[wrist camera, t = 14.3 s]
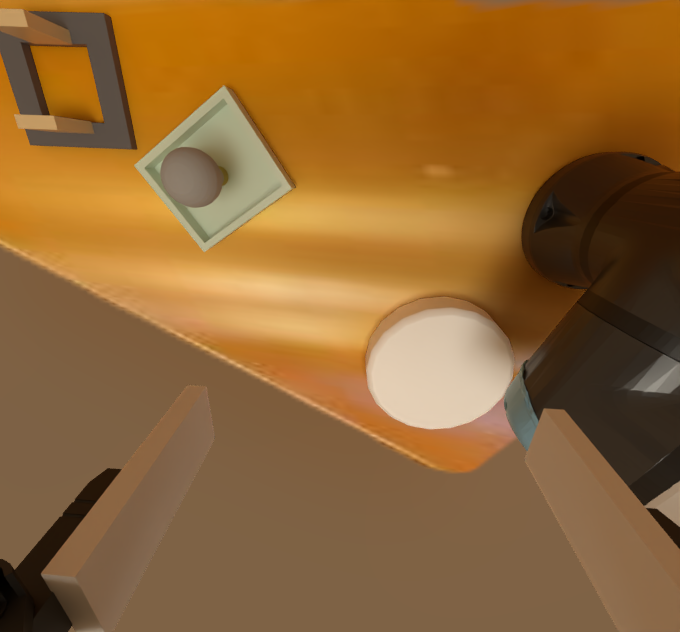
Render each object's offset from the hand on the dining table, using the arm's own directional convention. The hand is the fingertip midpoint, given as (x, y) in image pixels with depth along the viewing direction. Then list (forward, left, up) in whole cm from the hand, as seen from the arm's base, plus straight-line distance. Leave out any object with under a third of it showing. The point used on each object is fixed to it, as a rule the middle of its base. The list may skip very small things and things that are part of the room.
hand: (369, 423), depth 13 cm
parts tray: (+10, -16, -32) cm, 37 cm away
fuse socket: (+18, -32, -32) cm, 48 cm away
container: (0, +20, -32) cm, 38 cm away
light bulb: (+10, -16, -31) cm, 36 cm away
